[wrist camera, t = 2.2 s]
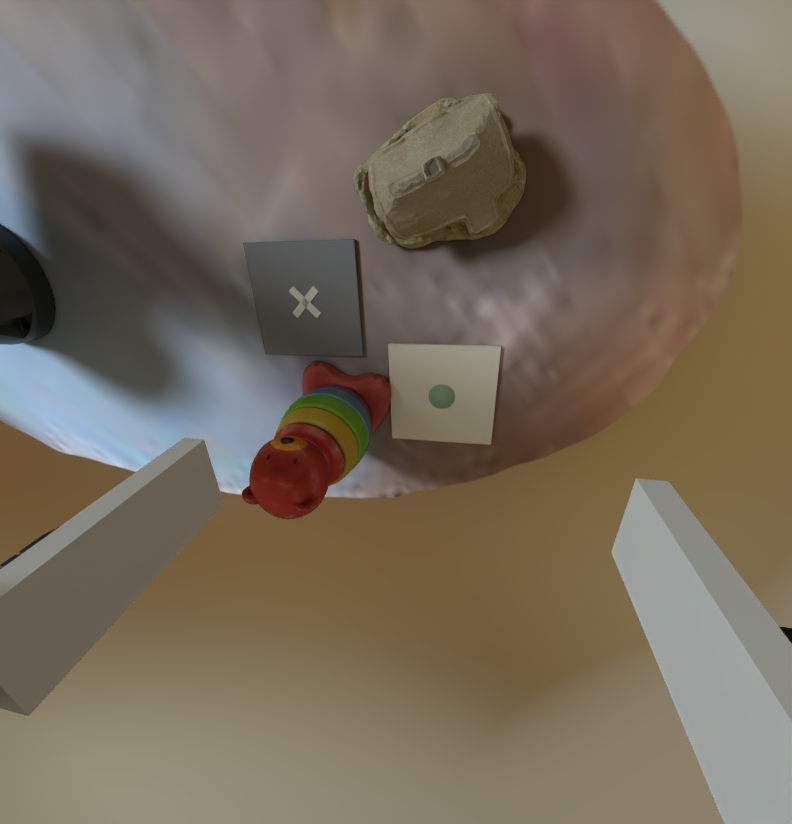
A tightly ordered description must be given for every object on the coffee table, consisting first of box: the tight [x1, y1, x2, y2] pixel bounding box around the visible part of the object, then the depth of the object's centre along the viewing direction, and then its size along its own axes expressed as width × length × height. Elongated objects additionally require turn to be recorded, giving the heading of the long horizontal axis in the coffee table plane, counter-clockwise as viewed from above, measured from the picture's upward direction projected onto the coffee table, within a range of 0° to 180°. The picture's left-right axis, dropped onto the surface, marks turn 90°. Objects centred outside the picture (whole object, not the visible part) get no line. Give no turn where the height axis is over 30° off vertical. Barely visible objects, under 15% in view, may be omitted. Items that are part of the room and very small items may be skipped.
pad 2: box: [388, 343, 501, 445], centre depth 41 cm, size 12×12×1 cm
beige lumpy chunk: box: [353, 93, 526, 249], centre depth 28 cm, size 14×11×10 cm
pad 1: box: [243, 239, 364, 357], centre depth 39 cm, size 12×12×1 cm
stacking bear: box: [242, 361, 391, 519], centre depth 37 cm, size 11×10×18 cm
